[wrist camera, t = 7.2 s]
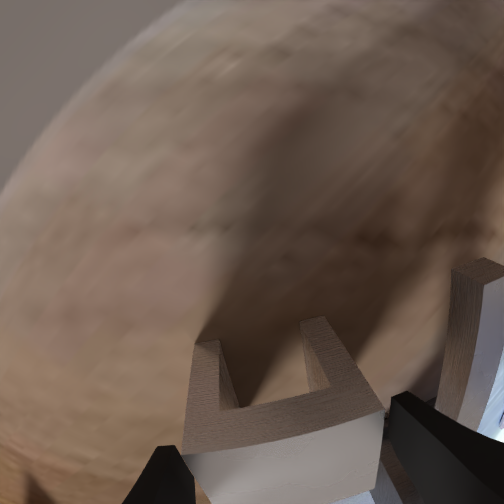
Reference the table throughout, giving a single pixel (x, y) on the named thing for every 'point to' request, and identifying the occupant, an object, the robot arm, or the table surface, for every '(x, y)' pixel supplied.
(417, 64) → the table surface
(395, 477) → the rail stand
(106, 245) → the table surface
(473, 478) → the robot arm
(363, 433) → the bracket
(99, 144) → the table surface
